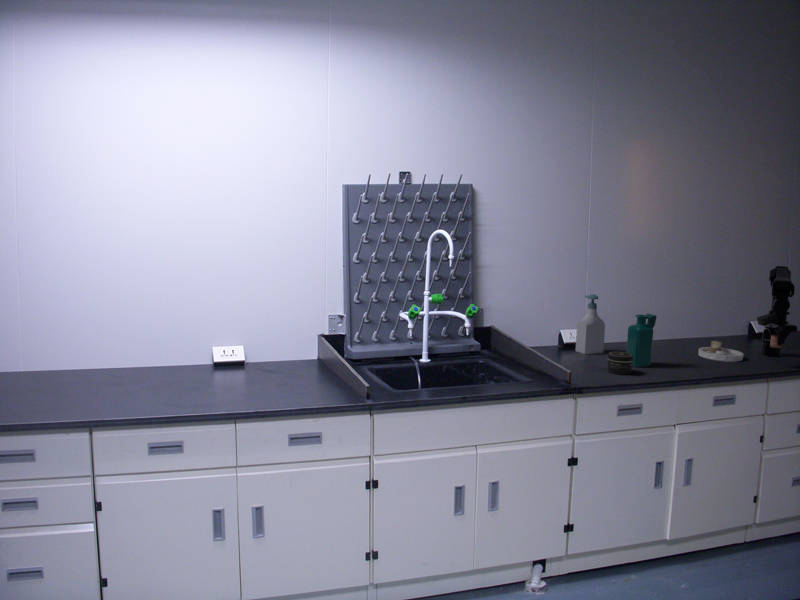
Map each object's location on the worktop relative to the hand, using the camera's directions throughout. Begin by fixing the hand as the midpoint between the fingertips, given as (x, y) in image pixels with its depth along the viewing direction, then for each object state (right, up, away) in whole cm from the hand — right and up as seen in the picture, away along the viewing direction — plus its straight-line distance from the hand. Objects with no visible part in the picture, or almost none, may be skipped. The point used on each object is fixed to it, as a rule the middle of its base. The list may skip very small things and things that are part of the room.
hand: (776, 344), depth 272 cm
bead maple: (-14, -5, +24) cm, 28 cm away
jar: (-73, -11, -13) cm, 75 cm away
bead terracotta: (0, -1, 0) cm, 1 cm away
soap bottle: (-74, -5, +23) cm, 78 cm away
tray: (-15, -7, +19) cm, 25 cm away
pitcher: (-59, -9, 0) cm, 60 cm away
